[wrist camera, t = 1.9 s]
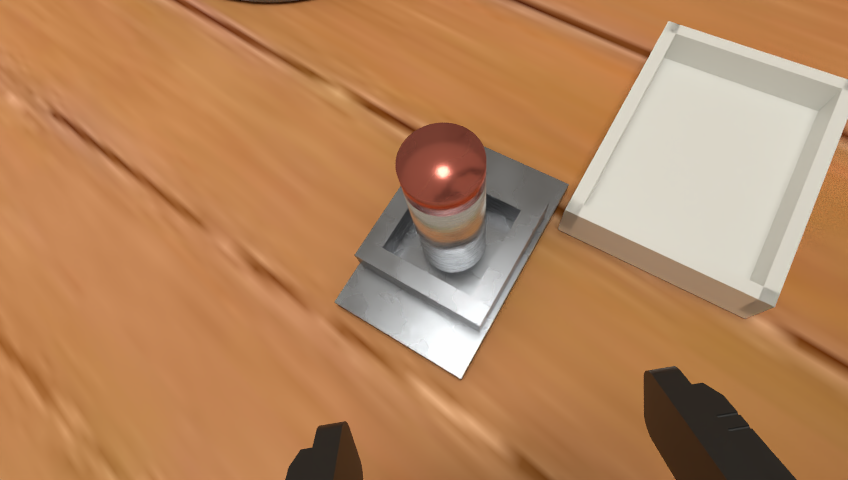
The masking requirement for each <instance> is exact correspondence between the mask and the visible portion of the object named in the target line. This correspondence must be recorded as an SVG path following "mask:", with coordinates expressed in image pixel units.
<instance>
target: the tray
mask: <svg viewBox="0 0 848 480" xmlns="http://www.w3.org/2000/svg"><path fill="white" fill-rule="evenodd" d="M847 119H848V79H845V78H841V77H838V76H835V75H832V74H829V73H826V72H823V71H820V70H817V69H814V68H811V67H808V66H805V65H802V64H798V63H795V62H792V61H789V60H786V59H783V58H780V57H777V56H774V55H771V54H768V53H765V52H762V51H759V50H756V49H752V48H749V47H746V46H743V45H740V44H737V43H734V42H731V41H728V40H725V39H722V38H719V37H716V36H713V35H709V34H706V33H703V32H700V31H697V30H694V29H691V28H688V27H685V26H682V25H679V24H676V23H673V22H670V21H668V23H667V25H666V27H665V28H664V30H663V32H662V34H661V36H660V38H659V39H658V41H657V43H656V45H655V47H654V49H653V50H652V52H651V54H650V56H649V58H648V59H647V61H646V63H645V65H644V67H643V69H642V70H641V72H640V74H639V76H638V78H637V80H636V81H635V83H634V85H633V87H632V89H631V90H630V92H629V94H628V96H627V98H626V100H625V101H624V103H623V105H622V107H621V109H620V111H619V112H618V114H617V116H616V118H615V120H614V121H613V123H612V125H611V127H610V129H609V131H608V132H607V134H606V136H605V138H604V140H603V142H602V143H601V145H600V147H599V149H598V151H597V152H596V154H595V156H594V158H593V160H592V162H591V163H590V165H589V167H588V169H587V171H586V173H585V174H584V176H583V178H582V180H581V182H580V183H579V185H578V187H577V189H576V191H575V193H574V194H573V196H572V198H571V200H570V202H569V204H568V205H567V207H566V209H565V211H564V214H563V216H562V219H561V222H560V224H559V227H558V230H560V231H562V232H564V233H566V234H568V235H571V236H573V237H575V238H577V239H579V240H581V241H583V242H585V243H587V244H589V245H591V246H594V247H596V248H598V249H600V250H602V251H604V252H606V253H608V254H610V255H612V256H614V257H617V258H619V259H621V260H623V261H625V262H627V263H629V264H631V265H633V266H635V267H638V268H640V269H642V270H644V271H646V272H648V273H650V274H652V275H654V276H656V277H658V278H661V279H663V280H665V281H667V282H669V283H671V284H673V285H675V286H677V287H679V288H681V289H684V290H686V291H688V292H690V293H692V294H694V295H696V296H698V297H700V298H702V299H705V300H707V301H709V302H711V303H713V304H715V305H717V306H719V307H721V308H723V309H725V310H728V311H730V312H732V313H734V314H736V315H738V316H740V317H742V318H744V319H746V318H749V317H751V316H754V315H756V314H759V313H761V312H764V311H766V310H768V309H771V308H773V307H775V305H776V302H777V300H778V297H779V295H780V292H781V289H782V287H783V284H784V282H785V279H786V277H787V274H788V271H789V269H790V266H791V264H792V261H793V258H794V256H795V253H796V251H797V248H798V245H799V243H800V240H801V238H802V235H803V233H804V230H805V227H806V225H807V222H808V220H809V217H810V214H811V212H812V209H813V207H814V204H815V201H816V199H817V196H818V194H819V191H820V188H821V186H822V183H823V181H824V178H825V176H826V173H827V170H828V168H829V165H830V163H831V160H832V157H833V155H834V152H835V150H836V147H837V144H838V142H839V139H840V137H841V134H842V132H843V129H844V126H845V124H846V121H847Z"/></svg>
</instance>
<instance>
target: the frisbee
mask: <svg viewBox="0 0 848 480" xmlns="http://www.w3.org/2000/svg"><path fill="white" fill-rule="evenodd" d="M243 1H251V2H288V1H297V0H243Z"/></svg>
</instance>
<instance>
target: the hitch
mask: <svg viewBox="0 0 848 480" xmlns="http://www.w3.org/2000/svg"><path fill="white" fill-rule="evenodd" d="M483 147H484V146H483ZM484 149H485V153H486V242H485V250H484V253H483V255H482V257H481V258H480V260H479V261H478V262H477V263H476V264H475V265H474V266H472V267H471V268H469V269H467V270H464V271H461V272H445V271H442V270H440V269H437V268H436V267H434V266H433V265H432V264H431V263H430V262H429V261H428V260H427V258H426V257H425V255H424V252H423V249H422V246H421V243H420V240H419V237H418V234H417V231H416V228H415V225H414V223H413V220H412V217H411V214H410V211H409V208H408V205H407V202H406V199H405V196H404V193H403V190H402V188H401V186H400V188H399V189H398V191H397V192H396V194H395V195H394V197H393V198H392V200H391V201H390V203H389V204H388V206H387V207H386V209H385V210H384V212H383V213H382V215H381V216H380V218H379V219H378V221H377V222H376V224H375V225H374V227H373V228H372V230H371V231H370V233H369V234H368V236H367V237H366V239H365V240H364V242H363V243H362V245H361V246H360V248H359V249H358V251H357V252H356V254H355V257H356V258H357V259H358V261H359V262H360V264H359V266H358V267H357V269H356V270H355V272H354V273H353V275H352V276H351V278H350V279H349V281H348V282H347V284H346V285H345V287H344V288H343V290H342V291H341V293H340V294H339V296H338V297H337V299H336V300H335V303H336V304H337V305H339V306H340V307H342V308H344V309H345V310H347V311H349V312H350V313H352V314H354V315H355V316H357V317H359V318H360V319H362V320H364V321H365V322H367V323H368V324H370V325H372V326H373V327H375V328H377V329H378V330H380V331H382V332H383V333H385V334H387V335H388V336H390V337H392V338H393V339H395V340H396V341H398V342H400V343H401V344H403V345H405V346H406V347H408V348H410V349H411V350H413V351H415V352H416V353H418V354H420V355H421V356H423V357H424V358H426V359H428V360H429V361H431V362H433V363H434V364H436V365H438V366H439V367H441V368H443V369H444V370H446V371H448V372H449V373H451V374H452V375H454V376H456V377H457V378H459V379H461V380H462V378H463V376H464V374H465V372H466V371H467V369H468V367H469V365H470V363H471V362H472V360H473V358H474V356H475V354H476V353H477V351H478V349H479V347H480V345H481V343H482V342H483V340H484V338H485V336H486V334H487V333H488V331H489V329H490V327H491V325H492V324H493V322H494V320H495V318H496V316H497V315H498V313H499V311H500V309H501V307H502V306H503V304H504V302H505V300H506V298H507V297H508V295H509V293H510V291H511V289H512V288H513V286H514V284H515V282H516V280H517V279H518V277H519V275H520V273H521V271H522V270H523V268H524V266H525V264H526V262H527V261H528V259H529V257H530V255H531V253H532V252H533V250H534V248H535V246H536V244H537V243H538V241H539V239H540V237H541V235H542V234H543V232H544V230H545V228H546V226H547V225H548V223H549V221H550V219H551V217H552V215H553V214H554V212H555V210H556V208H557V206H558V205H559V203H560V201H561V199H562V197H563V196H564V194H565V192H566V190H567V188H568V185H569V184H567V183H564V182H562V181H560V180H558V179H555V178H553V177H551V176H549V175H547V174H544V173H542V172H540V171H538V170H535V169H533V168H531V167H529V166H526V165H524V164H522V163H520V162H517V161H515V160H513V159H511V158H508V157H506V156H504V155H502V154H499V153H497V152H495V151H493V150H491V149H488V148H486V147H484Z"/></svg>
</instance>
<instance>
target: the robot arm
mask: <svg viewBox="0 0 848 480" xmlns="http://www.w3.org/2000/svg"><path fill="white" fill-rule="evenodd" d="M644 417H645V423H646V426H647V429H648V432H649V435H650V437H651V439H652V441H653V442H654V444H655V446H656V447H657V449H658V451H659V452H660V454H661V456H662V457H663V459H664V461H665V462H666V464H667V466H668V467H669V469H670V471H671V472H672V474H673V476H674V477H675V479H676V480H796V479H795V477H794V476H793V475H792V474H791V473H790V472H789V471H788V469H787V468H786V467H785V466H784V465H783V464H782V463H781V461H780V460H779V459H778V458H777V457H776V456H775V454H774V453H773V452H772V451H771V450H770V449H769V448H768V446H767V445H766V444H765V443H764V442H763V441H762V439H761V438H760V437H759V436H758V435H757V434H756V433H755V431H754V430H753V429H750V427H749V425H748V423H747V422H746V421H745V420H744V419H743V418H742V416H741V415H738V413H737V411H736V410H735V408H734V407H733V406H732V405H731V404H730V403H729V402H728V400H727V399H726V398H725V397H724V396H723V395H722V394H720V393H719V392H717V391H715V390H714V389H712V388H710V387H709V386H707V385H706V384H704V383H698V384H691V383H690V382H689V381H688V379H687V378H686V377H685V376H684V374H683V373H682V372H681V371H680V370H679V369H678V368H677V367H675V366H672V367H666V368H660V369H654V370H649V371H645V373H644ZM285 480H363V472H362V465H361V461H360V458H359V455H358V452H357V449H356V446H355V443H354V440H353V437H352V434H351V431H350V428H349V425H348V423H347V422H339V423H333V424H327V425H321V426H319V427H318V428H317V431H316V435H315V439H314V443H313V448H307V449H301V450H300V452H299V453H298V454H297V456H296V457H295V459H294V460H293V462H292V463H291V465H290V466H289V468H288V472H287V476H286V479H285Z"/></svg>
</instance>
